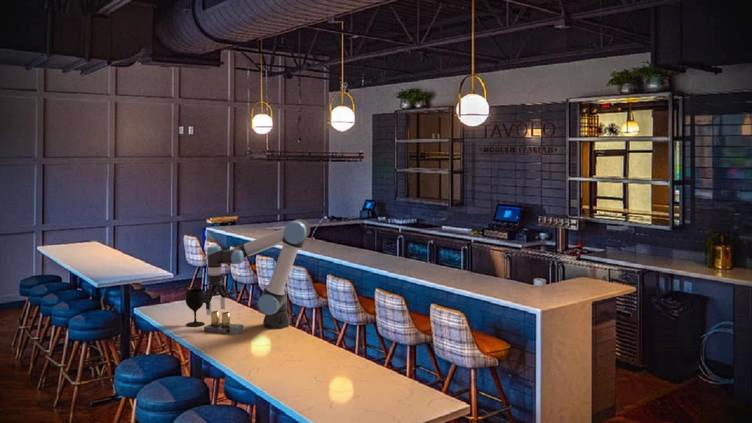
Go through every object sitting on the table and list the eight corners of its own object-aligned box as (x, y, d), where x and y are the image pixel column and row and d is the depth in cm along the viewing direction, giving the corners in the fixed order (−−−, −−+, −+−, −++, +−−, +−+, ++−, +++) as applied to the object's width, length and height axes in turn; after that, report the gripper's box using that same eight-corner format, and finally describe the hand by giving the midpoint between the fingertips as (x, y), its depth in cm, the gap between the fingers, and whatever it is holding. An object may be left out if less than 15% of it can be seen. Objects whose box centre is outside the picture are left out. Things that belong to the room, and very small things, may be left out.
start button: (235, 326, 349) (235, 323, 349) (240, 327, 348) (240, 323, 348) (232, 328, 346) (232, 324, 346) (237, 328, 345) (237, 325, 345)
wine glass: (201, 327, 357) (201, 292, 355) (183, 327, 357) (182, 292, 355) (206, 322, 367) (206, 288, 366) (189, 322, 368) (188, 288, 366)
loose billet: (214, 328, 356) (214, 310, 355) (221, 329, 354) (220, 310, 353) (209, 330, 352) (209, 312, 351) (216, 331, 350) (216, 312, 349)
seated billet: (225, 329, 354) (225, 311, 353) (231, 330, 352) (231, 312, 351) (219, 330, 350) (220, 312, 349) (226, 332, 348) (226, 313, 347)
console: (235, 330, 351) (235, 323, 351) (243, 331, 349) (243, 324, 349) (229, 333, 345) (229, 326, 345) (237, 334, 344) (237, 327, 343)
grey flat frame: (215, 326, 359) (215, 322, 359) (236, 329, 355) (236, 324, 354) (203, 331, 349) (203, 326, 349) (225, 334, 344) (225, 329, 344)
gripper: (221, 269, 363) (223, 306, 365) (195, 278, 340) (196, 316, 342) (233, 270, 361) (234, 307, 362) (207, 278, 337) (208, 318, 339)
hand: (216, 312), depth 352 cm, fingers open, 13 cm apart
